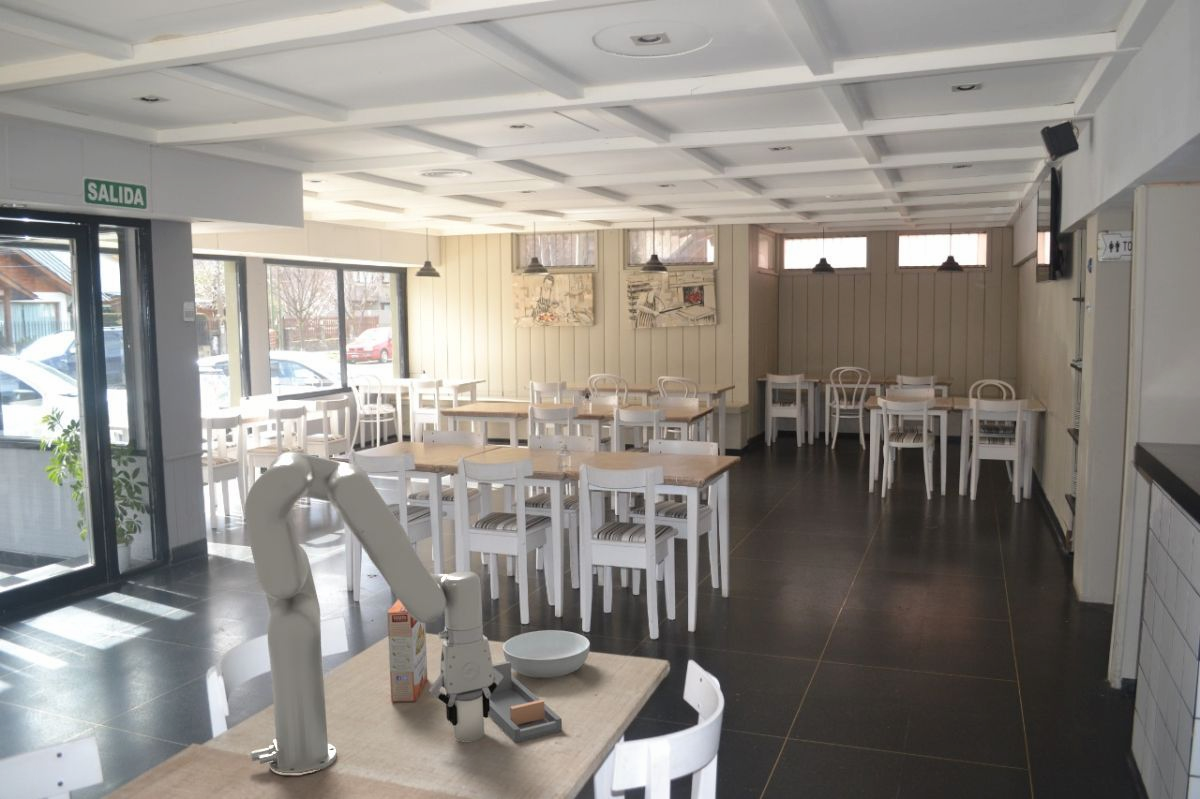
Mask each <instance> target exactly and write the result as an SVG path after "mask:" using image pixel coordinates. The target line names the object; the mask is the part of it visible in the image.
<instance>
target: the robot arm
mask: <svg viewBox="0 0 1200 799" xmlns="http://www.w3.org/2000/svg"><path fill="white" fill-rule="evenodd" d="M304 497H305V498H309V499H315V500H320V501H324V502H330V504H331V505H332V507H333V508H334V510H335V511H336V512H337V515H338V516H339V517H340V518H341V520H342V521H343V522H344V523H345V525H346V526H347V528H348V529H349V531H350V532H351V533H352V535H353V536H354V537H355V538H356V539H355V540H356V541H357V542H358V543H359V545H360V547H361V548H362V549H363V550H364V551H365V553H366V555H367V556H368V558H369V560H370V561H371V562H372V564H373V565H374V566H375V568H376V569H377V570H378V572H379V573H380V574H381V575H382V577H383V578H384V580H385V582H386V583H387V585H388V586H389V587H390V589H391V591H392V592H393V594H394V595H395V596H396V598H397V600H398V599H399V600H400V602H401V603H402V605H403V606H404V607H405V609H406V610H407V611H408V613H409V614H410V615H411V616H412V617H413V618H414V619H415V620H417V621H419V622H422V623H425V624H430V623H433V622H436V621H437V620H439V619H440V618H441V617H442V616H443V615H444V629H443V631H441V632H438V638H439V640H443V642H442V647H441V654H440V655H441V657H440V672H439V673H440V675H439V676H438V677H437V679H436V680H435V681H434V682H433V683H432V685H431V686H430V688H429V692H430V694H432V695H433V696H434V697H435V698H437V699H439V700H440V701H441V702H442V703H443V704H445V706H446V707H445V709H446V719H447V721H449V722H450V724H452V726H454V725H456V724H457V711H456V706H455V705H454V701H455V698H456V694H460V693H464V692H469V691H473V690H478V689H482V690H483V695H482V699H483V719H484V718H485V719H487V718H489V715H488V712H489V711H490V703H489V698H490V697H491V694H492V693H493V691H494V690H495V689H496V687H497V685H498V684H499V683H500V681H501V680H502V679H503V675H502V674H501V673H499V672H498V671H497V670H496V669H494V668H493V665H492V664H493V660H492V658H493V657H492V654H491V648H490V643H489V640H488V637H487V636H485V635H484V630H483V629H484V627H483V609H482V608H483V607H482V605H483V604H482V587H481V586H482V585H481V578H480V576H479V575H478V574H477V573H476V572H474V571H469V570H468V571H465V570H463V571H454V572H451V573H431V572H429V571H428V569H427V568H426V566H425V565H424V564H423V562H422V561H421V559H420V557H419V556H418V554H417V552H416V551H415V549H414V547H413V544H412V542H411V540H410V538H409V536H408V534H407V532H406V530H405V529H404V527H403V526H402V524H401V522H400V521H399V520H398V518H397V517H396V516H395V514H394V513H393V512H392V510H391V508H390V507H389V506H388V504H387V503H386V501H385V500H384V499H383V497H382V496H381V495H380V493H379V492H378V490H377V489H376V487H375V486H374V484H373V483H372V481H371V480H370V477H369V475H368V473H367V471H366V470H364V468H362V467H360V466H359V465H356V464H352V463H348V462H344V461H338V460H335V459H334V460H333V459H329V458H326V457H325V458H324V457H320V456H315V455H310V454H306V453H302V452H295V451H294V452H293V451H292V452H290V451H289V452H285V453H282V454H280V455H278V456H277V457H276V458H275V459H273V461H272V462H271V464H270V465H269V468H268V469H267V470H265V471H264V472H263V473H262V474H261V475H260V476H259V477H258V478H257V479H256V480H255V482H254V483H253V484H252V486H251V487H250V489H249V491H248V493H247V496H246V500H245V504H244V517H245V524H246V525H245V526H246V528H247V529H246V530H247V535H248V539H249V544H250V550H251V555H252V560H253V564H254V568H255V573H256V580H257V583H258V587H259V588H260V590H261V591H262V592H263V593H264V594H265V597H266V598H265V599H266V602H267V606H268V610H269V613H270V616H269V621H268V627H267V646H268V647H267V648H268V654H269V655H268V656H269V662H270V663H269V665H270V673H271V674H270V675H271V689H272V698H273V699H272V700H273V713H274V714H273V715H274V727H275V738H274V739H273V740H272V745H271V744H270V745H268V746H267V747H266V748H262V749H261V748H260V749H256V750H252V751H250V756H251V761H252V762H256V761H259V764H260V765H261V764H265V763H268V766H269V765H270V767H271V768H272V769H274V770H275V771H278V772H282V773H303V772H308V771H313V770H319V769H322V770H325V769H326V768H328V767H329V766H330V765H332V764H333V763H334V762H335V761H336V759H337V757H336V756H337V754H338V753H337V748H336V747H335V746H334V745H333V744H331V743H329V742H328V728H327V709H326V696H325V694H326V693H325V681H324V666H323V654H322V653H323V652H322V651H323V650H322V630H321V629H322V628H321V625H322V624H321V620H322V619H321V606H320V603H319V598H318V594H317V590H316V585H315V582H314V576H313V572H312V569H311V564H310V559H309V557H308V556H309V555H308V554H307V552H306V550H305V549H304V548H303V547H302V546H301V545H300V543H299V541H298V536H297V530H296V525H295V522H294V517H293V510H294V507H295V505H296V503H297V502H298V501H300V500H301V499H303V498H304ZM441 688H444V690H445V693H443V692H442V691H440V689H441ZM334 760H335V761H334ZM333 761H334V762H333Z"/></svg>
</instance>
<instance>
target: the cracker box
mask: <svg viewBox="0 0 1200 799" xmlns="http://www.w3.org/2000/svg"><path fill="white" fill-rule="evenodd" d="M386 614H387V616H386V617H387V631H388V632H387V635H388V636H387V637H388V652H389V653H388V655H389V656H388V657H389V677H390V679H389V680H390V681H389V682H390V701H391V703H397V702H398V703H406V702H407V703H409V702H412V703H413V702H416V700H417V699H418V697H419V695H420V693H421V691H422V689H423V687H424V686H425V684H426V682H427V680H428V660H427V632H426V631H427V630H426V623H422V622H419V621H417V620H415V619H414V618H413V617H412V616H411V615H410V614H409V613H408V611H407V610H406V609H405V607H404V606H403V605H402V603H401V602H400V600H399V599H398V598H397V600H396V602H395V603H394V604H393V605H392V607H390V609H389V610H388V612H387V613H386Z"/></svg>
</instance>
